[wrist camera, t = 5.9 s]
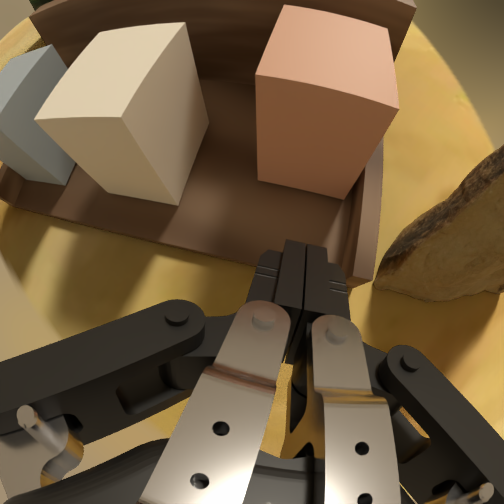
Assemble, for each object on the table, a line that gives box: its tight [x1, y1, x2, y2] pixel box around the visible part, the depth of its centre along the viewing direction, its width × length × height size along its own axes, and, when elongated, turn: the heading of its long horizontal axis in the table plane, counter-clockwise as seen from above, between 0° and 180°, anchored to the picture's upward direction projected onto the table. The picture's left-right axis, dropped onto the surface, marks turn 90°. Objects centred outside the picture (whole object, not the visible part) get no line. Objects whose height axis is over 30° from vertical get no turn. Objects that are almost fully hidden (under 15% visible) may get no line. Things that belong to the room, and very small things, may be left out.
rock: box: [374, 145, 504, 302], centre depth 12 cm, size 11×9×10 cm
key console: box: [0, 0, 416, 288], centre depth 13 cm, size 14×26×10 cm, turn 76°
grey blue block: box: [0, 44, 76, 186], centre depth 14 cm, size 6×5×8 cm
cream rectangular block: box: [34, 22, 209, 206], centre depth 13 cm, size 6×5×8 cm
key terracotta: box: [255, 5, 399, 200], centre depth 13 cm, size 6×5×8 cm
